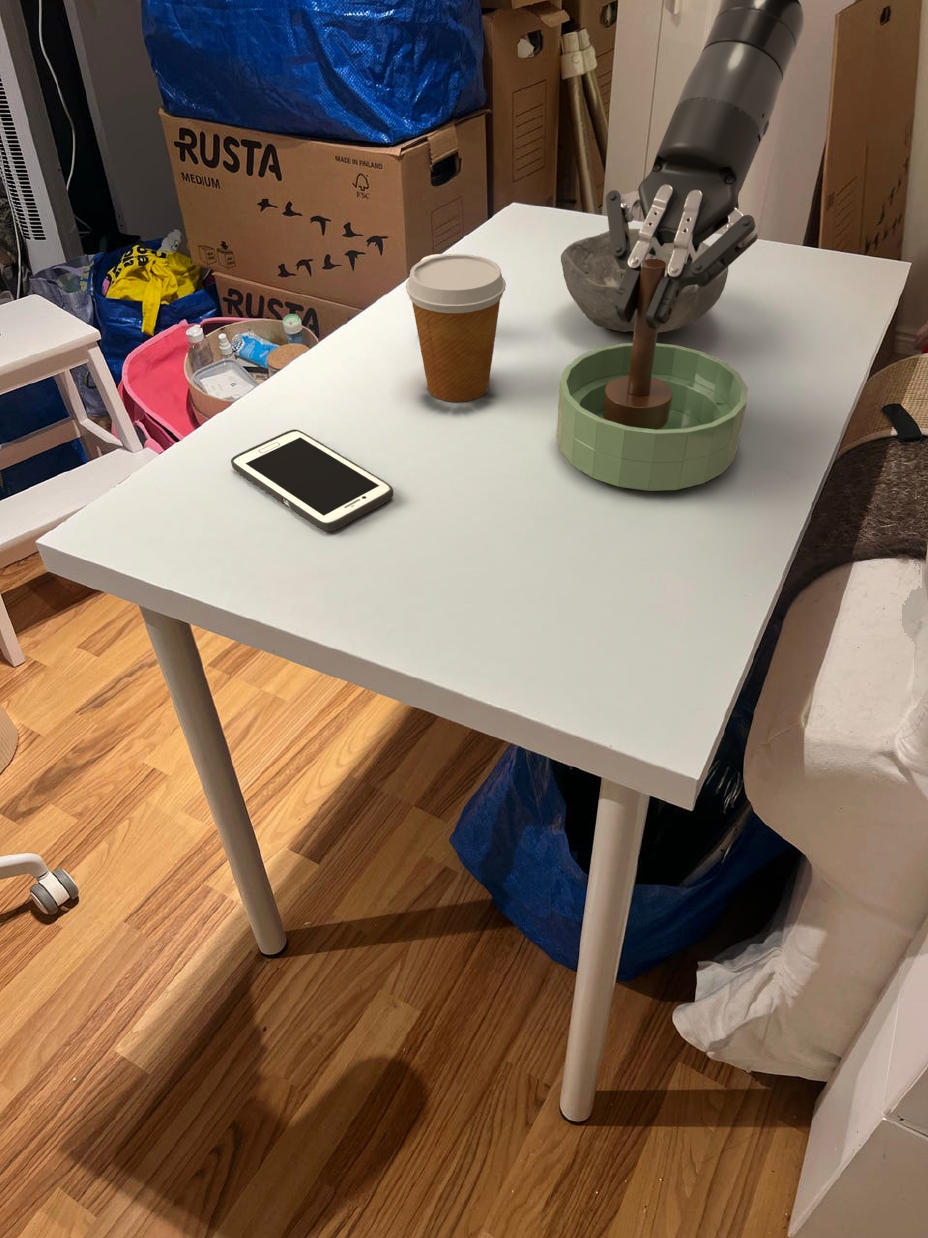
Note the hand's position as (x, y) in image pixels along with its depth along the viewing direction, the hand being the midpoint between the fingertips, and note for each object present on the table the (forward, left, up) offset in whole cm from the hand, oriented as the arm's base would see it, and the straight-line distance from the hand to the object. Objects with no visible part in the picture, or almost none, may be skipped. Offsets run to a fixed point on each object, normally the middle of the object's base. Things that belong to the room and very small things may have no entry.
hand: (637, 320), depth 76 cm
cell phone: (+26, +12, -13) cm, 31 cm away
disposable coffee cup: (+18, -8, -13) cm, 24 cm away
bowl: (+2, -27, -13) cm, 30 cm away
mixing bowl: (-2, -1, -13) cm, 13 cm away
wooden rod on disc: (-1, -2, -10) cm, 10 cm away
